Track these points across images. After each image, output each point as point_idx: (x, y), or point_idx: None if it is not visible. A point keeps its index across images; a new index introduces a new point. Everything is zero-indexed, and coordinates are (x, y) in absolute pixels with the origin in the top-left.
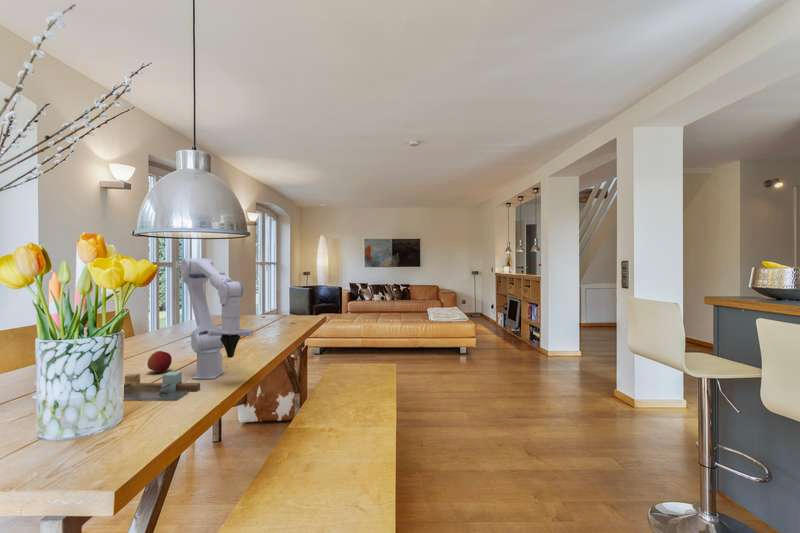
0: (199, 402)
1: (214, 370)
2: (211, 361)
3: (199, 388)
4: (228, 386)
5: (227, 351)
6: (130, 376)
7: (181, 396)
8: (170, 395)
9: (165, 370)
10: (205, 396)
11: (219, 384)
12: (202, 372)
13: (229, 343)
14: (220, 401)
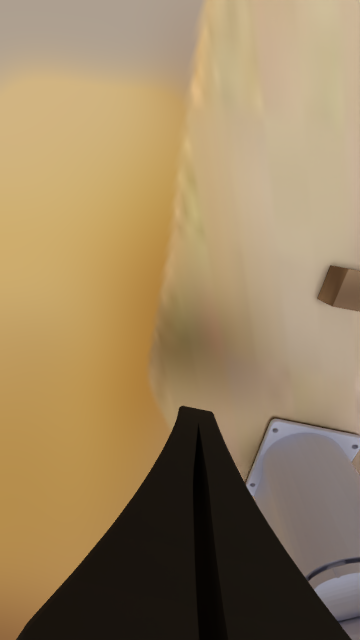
0: (303, 65)
1: (282, 462)
2: (315, 502)
3: (322, 294)
4: (200, 314)
5: (215, 451)
6: None
7: None
8: None
9: None
10: (282, 176)
11: (242, 349)
12: (332, 452)
13: (183, 558)
14: (196, 66)
